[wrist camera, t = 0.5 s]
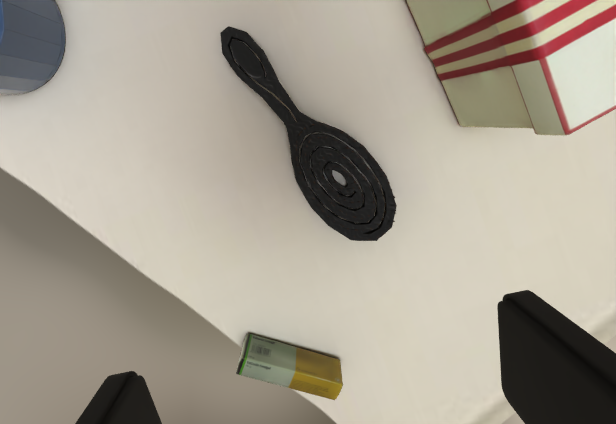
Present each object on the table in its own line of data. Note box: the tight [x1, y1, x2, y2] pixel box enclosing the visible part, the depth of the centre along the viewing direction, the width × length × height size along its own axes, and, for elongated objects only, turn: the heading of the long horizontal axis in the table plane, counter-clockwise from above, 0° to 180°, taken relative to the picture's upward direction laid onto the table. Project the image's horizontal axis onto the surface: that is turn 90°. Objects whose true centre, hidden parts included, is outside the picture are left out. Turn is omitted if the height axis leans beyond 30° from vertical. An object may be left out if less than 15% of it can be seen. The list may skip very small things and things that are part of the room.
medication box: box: [236, 333, 343, 400], centre depth 41 cm, size 12×3×4 cm, turn 71°
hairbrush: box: [221, 27, 397, 241], centre depth 35 cm, size 8×4×25 cm
